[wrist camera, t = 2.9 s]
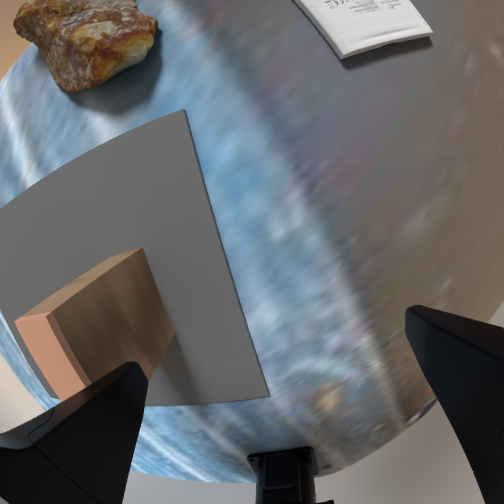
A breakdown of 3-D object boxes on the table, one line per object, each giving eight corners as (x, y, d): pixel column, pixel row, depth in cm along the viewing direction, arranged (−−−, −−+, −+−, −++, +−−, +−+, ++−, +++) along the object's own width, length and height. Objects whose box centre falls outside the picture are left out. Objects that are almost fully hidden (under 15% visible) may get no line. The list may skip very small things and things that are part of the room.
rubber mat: (269, 392, 19) (269, 396, 19) (52, 395, 22) (51, 397, 21) (185, 110, 14) (183, 109, 14) (-23, 230, 17) (-26, 231, 16)
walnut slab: (175, 332, 17) (122, 435, 9) (144, 336, 18) (84, 429, 9) (142, 247, 16) (45, 316, 7) (111, 256, 16) (14, 321, 7)
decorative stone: (69, -54, 5) (197, -9, 9) (89, -33, 9) (205, 23, 13) (-12, 39, 7) (76, 120, 11) (17, 48, 11) (109, 125, 15)
